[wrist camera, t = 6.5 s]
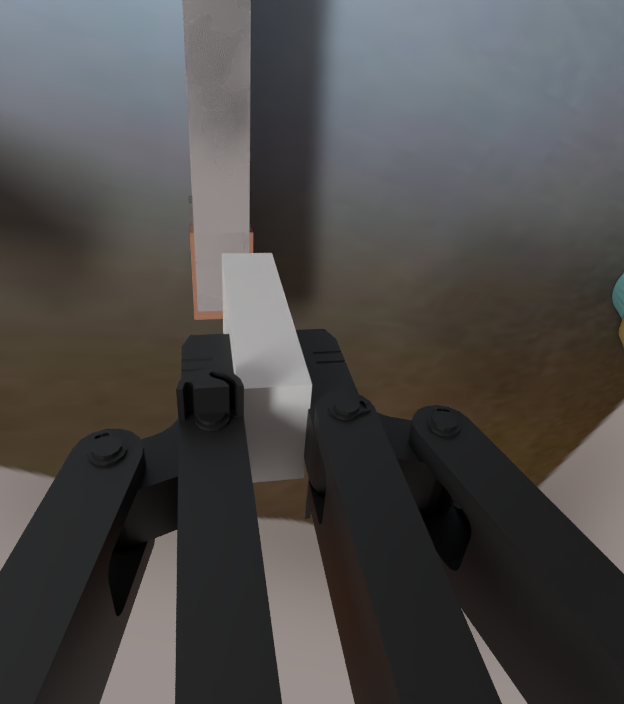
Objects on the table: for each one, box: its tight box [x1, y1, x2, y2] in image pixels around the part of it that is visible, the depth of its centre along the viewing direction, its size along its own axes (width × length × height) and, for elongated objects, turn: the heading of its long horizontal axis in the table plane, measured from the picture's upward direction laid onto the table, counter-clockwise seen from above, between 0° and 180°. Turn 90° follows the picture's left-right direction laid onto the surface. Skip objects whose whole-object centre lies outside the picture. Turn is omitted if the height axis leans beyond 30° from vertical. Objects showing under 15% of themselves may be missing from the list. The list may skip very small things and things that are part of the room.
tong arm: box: [182, 0, 253, 320], centre depth 24 cm, size 3×27×2 cm, turn 176°
